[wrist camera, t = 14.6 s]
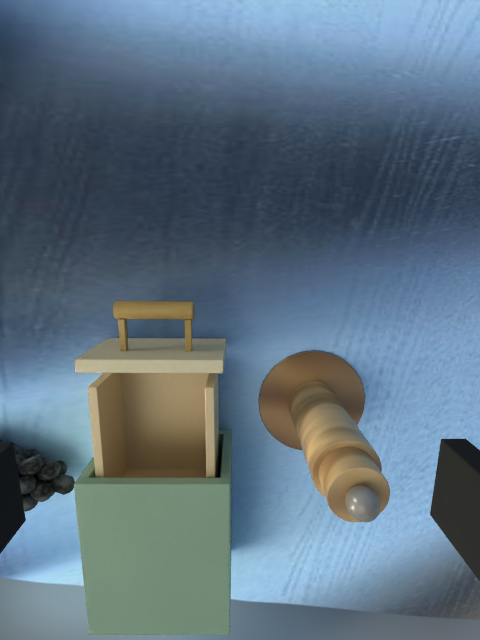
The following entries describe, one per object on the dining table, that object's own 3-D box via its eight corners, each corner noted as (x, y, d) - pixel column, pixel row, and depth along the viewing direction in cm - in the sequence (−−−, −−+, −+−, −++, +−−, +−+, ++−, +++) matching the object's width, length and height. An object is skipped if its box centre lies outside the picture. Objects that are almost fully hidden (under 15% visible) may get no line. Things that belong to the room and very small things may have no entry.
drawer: (104, 294, 34) (68, 305, 27) (226, 295, 34) (222, 306, 27) (117, 468, 38) (89, 518, 31) (226, 468, 38) (223, 518, 31)
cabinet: (112, 429, 38) (73, 484, 29) (231, 429, 38) (229, 484, 29) (121, 551, 41) (89, 635, 32) (231, 551, 41) (229, 634, 32)
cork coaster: (259, 350, 36) (259, 351, 36) (367, 350, 36) (369, 352, 36) (257, 448, 39) (258, 450, 38) (359, 448, 39) (360, 450, 38)
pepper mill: (289, 380, 37) (329, 478, 21) (337, 381, 37) (415, 478, 21) (287, 425, 38) (324, 551, 22) (334, 425, 38) (406, 551, 22)
